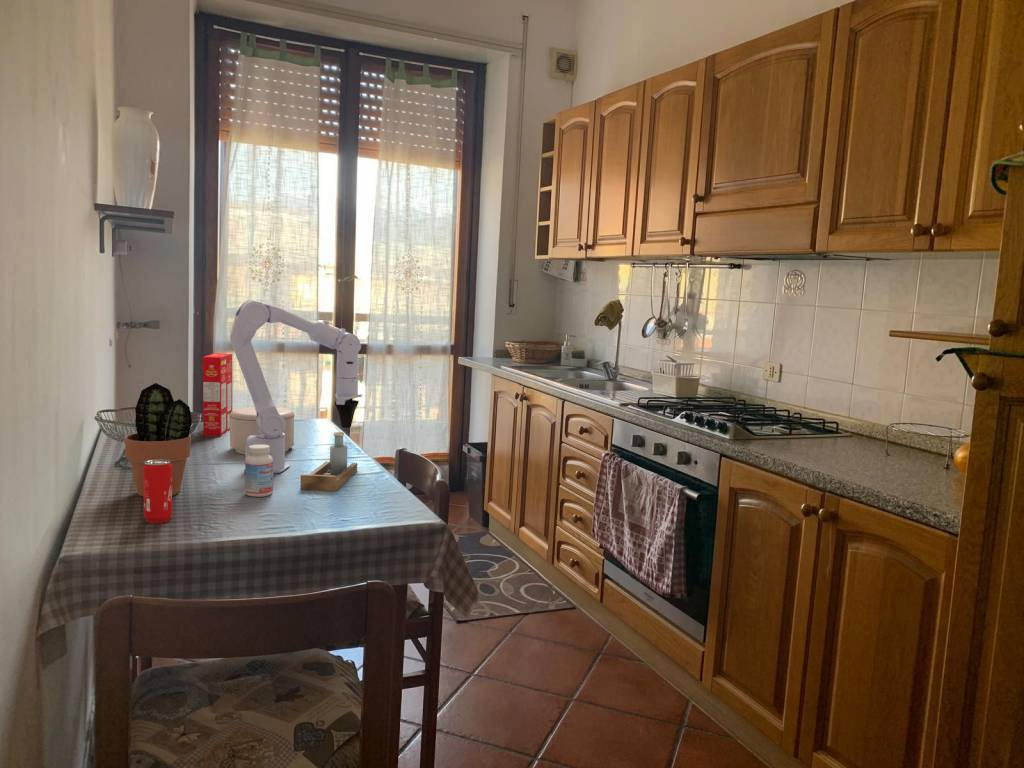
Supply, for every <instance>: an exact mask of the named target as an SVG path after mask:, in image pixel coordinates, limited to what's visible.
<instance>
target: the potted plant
mask: <svg viewBox="0 0 1024 768" xmlns="http://www.w3.org/2000/svg"><path fill="white" fill-rule="evenodd" d="M140 391H141V392H140V394H139V398H138V400H137V402H136V405H135V411H134V412H135V431H136V432H134V433H129V434H127V435H125V436H124V449H125V459H126V460H128V461H129V464H130V469H131V472H132V477H133V480H134V486H135V489H136V492H137V495H138V496H140V497H142V496H143V498H144V488H143V466H144V464H145V462H146V461H149V460H156V459H165V460H169V461H170V463H171V465H172V496H175V495H177V494H179V493H180V492H181V488H182V485H183V484H182V483H183V479H184V473H185V468H186V463H187V459H188V458H190V457H191V456H190V455H191V442H192V434H190V433H191V427H192V422H193V419H192V414H191V413H192V412H191V407H190V406H189V405H188V404H186V402H184V401H183V400H182V399H180V398H179V399H177V400H174V398H173V395H172V392H171V390H170V389H169V388H167V387H165V386H162V385H161V384H159V383H157V382H155V383H152V384H150V385H149V386H147V387H145V388H143V389H142V390H140Z"/></svg>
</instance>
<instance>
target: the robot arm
mask: <svg viewBox="0 0 1024 768" xmlns="http://www.w3.org/2000/svg"><path fill="white" fill-rule="evenodd" d="M266 323H268V324H275V323H281V324H283V325H286V326H288V327H291V328H294V329H297V330H299V331H302V332H304V333H307V335H308V336H309V339H310V340H311V341H312V342H315V343H317V344H319V345H321V346H323V347H326V348H329V349H331V350H336V373H335V374H336V375H335V377H336V379H335V381H336V382H335V383H336V386H335V388H336V389H335V391H336V393H335V399H336V401H334V406H335V408H336V410H337V412H338V415H339V418H340V419H339V420H340V424H341V428H343V429H350V428H351V427H352V425H353V420H354V416H355V412H356V409H357V408H358V405H359V402H360V401H359V400H358V399H357V400H353V399H356V398H362V397H363V394H362V393H359V392H358V390H359V388H358V387H359V352H360V351H361V349H362V344H361V340H360V338H358V336H356V335H355V334H354V333H350V332H348V331H346V328H342V327H341V328H339V327H336V326H334V325H331V324H329V323H330V321H328V320H326V319H323V320H321V319H318V320H316V321H314V322H313V321H310V320H308V319H305V318H303V317H302V316H299V315H297V314H295V313H292V312H290V311H289V310H286V309H284V308H282V307H279V306H275V305H271V304H267V303H263V302H262V301H257V300H252V299H251V300H247V301H245V302H243V303H242V304H241V305H240V307H239V308H238V309H237V311H236V312H235V314H234V320H233V324H232V326H231V330H230V335H229V341H230V344H231V345H232V349H233V352H234V354H235V357H236V359H237V362H238V365H239V367H240V370H241V372H242V375H243V379H244V380H245V384H246V386H247V389H248V391H249V394H250V396H251V400H252V402H253V407H255V410H256V414H257V416H256V424H257V426H258V427H259V428H260V430H259V431H258V432H257V433H256V435H251V436H249V437H248V438H247V441H246V447H245V454H244V455H245V456H244V457H245V458H244V459H245V460H246V458H247V457H248V456H249V455H250V453H249V446H251V445H269V446H270V451H269V453H268V454H269V455H270V456H271V457H272V458H273V474H280V473H282V472H284V471H286V469H288V468H290V467H291V465H290V464H285V462H286V461H285V460H286V459H285V458H286V452H285V433H283V432H284V430H285V426H286V423H285V420H284V418H283V417H282V416H281V415H280V414H279V413H278V411H277V409H276V407H277V406H276V405H275V403H274V402H275V401H274V400H273V398H272V395H271V392H270V390H269V386H268V385H267V382H266V379H265V376H264V373H263V371H262V368H261V365H260V363H259V359H258V357H257V354H256V352H255V349H254V347H253V344H252V339H253V338H254V336H255V335H256V333H257V331H258V330H259V329H260V328H262V327H263V326H264V325H265V324H266ZM245 460H244V461H245ZM244 472H245V469H244Z"/></svg>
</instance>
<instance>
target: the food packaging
mask: <svg viewBox="0 0 1024 768" xmlns="http://www.w3.org/2000/svg"><path fill="white" fill-rule="evenodd" d="M202 401H203V402H202V406H203V407H202V421H203V422H202V424H203V425H202V430H203V431H202V433H203V435H202V436H203V437H217V436H221V437H223V436H224V435H226V433H228V432H230V413H231V412H232V411H233V353H225V352H224V353H222V352H220V353H218V352H215V353H212V354H209V355H205V356H203V357H202ZM227 431H228V432H227ZM223 434H224V435H223Z"/></svg>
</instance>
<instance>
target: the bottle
mask: <svg viewBox="0 0 1024 768" xmlns="http://www.w3.org/2000/svg"><path fill="white" fill-rule="evenodd" d="M344 436H345V432H340V431H335V432H334V433H333V437H334V444H333V445H330V446H329V462H330V470H329V474H340V473H342V472H343V471H344V470H345V469H346V468H347V467H348V446H347V445H344Z"/></svg>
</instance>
